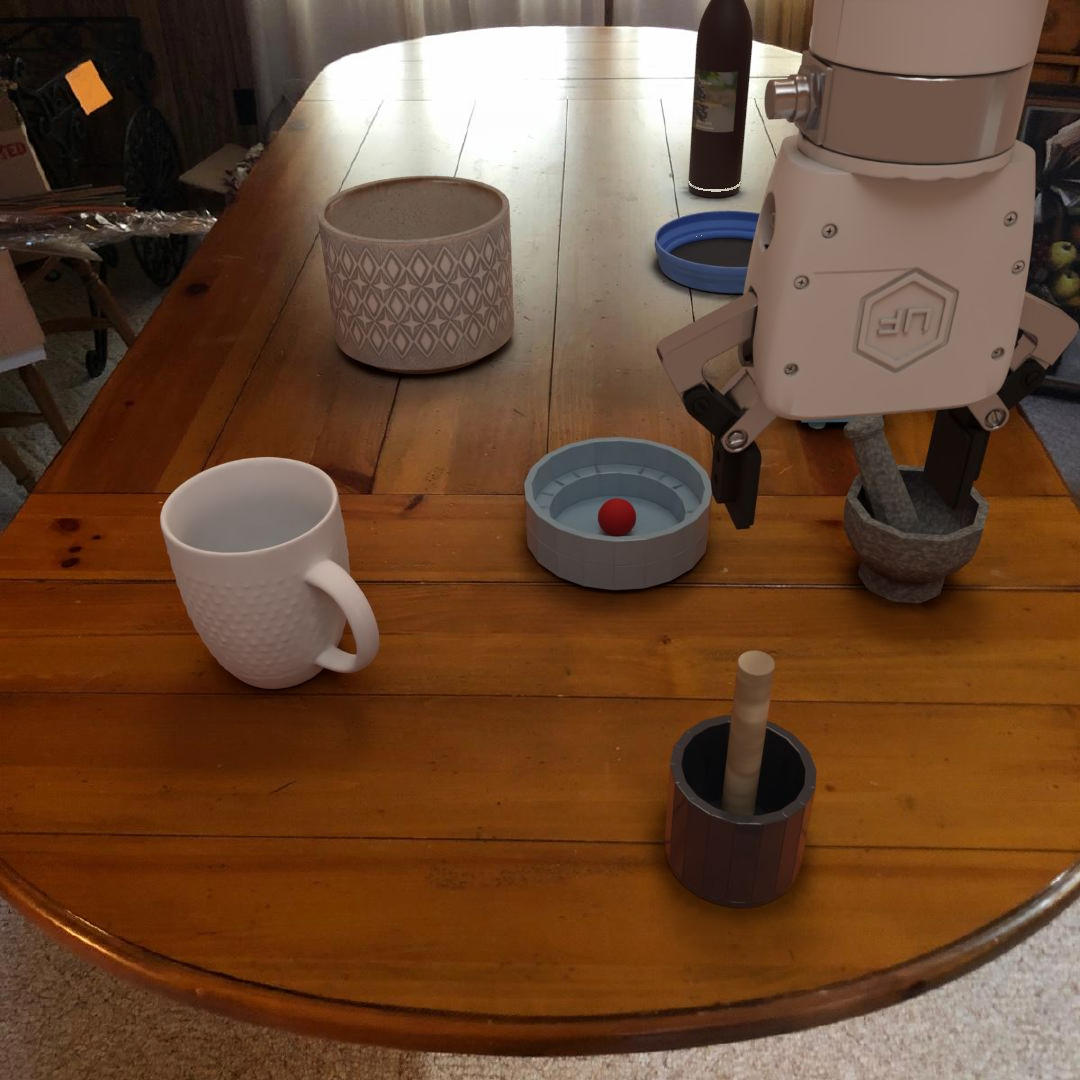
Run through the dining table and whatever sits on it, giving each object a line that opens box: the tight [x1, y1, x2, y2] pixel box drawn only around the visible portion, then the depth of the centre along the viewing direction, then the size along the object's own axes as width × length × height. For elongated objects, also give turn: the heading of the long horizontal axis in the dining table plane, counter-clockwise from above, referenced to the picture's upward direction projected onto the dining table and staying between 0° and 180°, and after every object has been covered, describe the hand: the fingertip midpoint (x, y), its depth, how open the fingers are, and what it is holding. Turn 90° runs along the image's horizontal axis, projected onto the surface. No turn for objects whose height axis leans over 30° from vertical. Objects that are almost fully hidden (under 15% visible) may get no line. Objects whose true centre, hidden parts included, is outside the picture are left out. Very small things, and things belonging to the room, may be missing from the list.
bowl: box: [653, 210, 760, 294], centre depth 128 cm, size 18×18×4 cm
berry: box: [598, 498, 636, 537], centre depth 85 cm, size 3×3×3 cm
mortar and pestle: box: [843, 415, 990, 604], centre depth 79 cm, size 11×9×12 cm
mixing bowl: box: [523, 436, 713, 591], centre depth 85 cm, size 14×14×5 cm
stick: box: [721, 649, 776, 815], centre depth 58 cm, size 2×2×14 cm
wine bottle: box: [687, 0, 754, 199], centre depth 142 cm, size 7×7×30 cm
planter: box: [316, 175, 515, 375], centre depth 111 cm, size 19×19×14 cm
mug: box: [159, 456, 380, 690], centre depth 71 cm, size 15×11×13 cm
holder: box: [664, 714, 818, 909], centre depth 60 cm, size 8×8×7 cm
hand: (840, 502), depth 49 cm, fingers open, 9 cm apart
